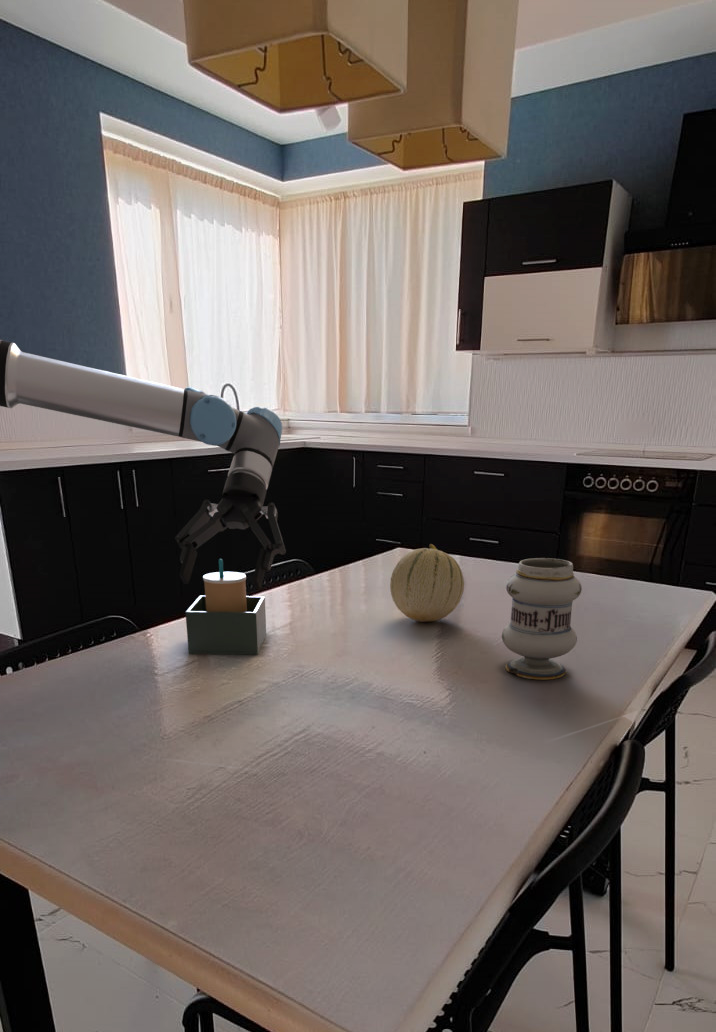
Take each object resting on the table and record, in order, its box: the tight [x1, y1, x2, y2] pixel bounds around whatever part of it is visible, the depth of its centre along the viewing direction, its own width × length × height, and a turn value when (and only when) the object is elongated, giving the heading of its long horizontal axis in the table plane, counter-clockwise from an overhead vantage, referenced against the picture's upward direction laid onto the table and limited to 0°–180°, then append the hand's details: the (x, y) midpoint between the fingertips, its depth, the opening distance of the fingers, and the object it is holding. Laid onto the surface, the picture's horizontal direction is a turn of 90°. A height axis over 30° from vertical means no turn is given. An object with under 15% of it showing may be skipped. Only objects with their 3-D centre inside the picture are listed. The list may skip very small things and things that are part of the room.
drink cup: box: [202, 558, 247, 612], centre depth 138 cm, size 8×8×15 cm
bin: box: [185, 595, 267, 656], centre depth 139 cm, size 12×12×8 cm
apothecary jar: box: [501, 557, 583, 681], centre depth 125 cm, size 12×12×18 cm
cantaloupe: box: [389, 543, 465, 623], centre depth 155 cm, size 15×15×15 cm
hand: (219, 582), depth 134 cm, fingers open, 13 cm apart
